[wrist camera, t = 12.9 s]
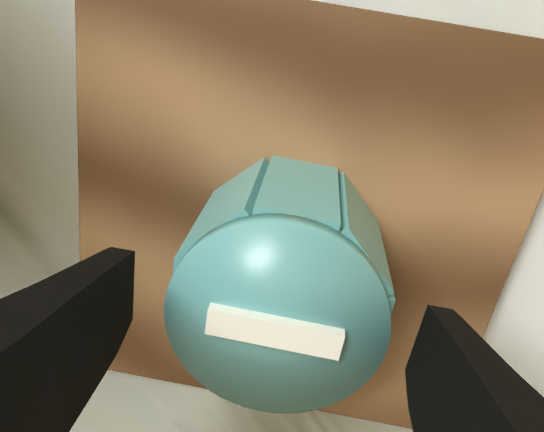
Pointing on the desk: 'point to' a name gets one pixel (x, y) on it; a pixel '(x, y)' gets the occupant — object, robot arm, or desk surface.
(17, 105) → the desk surface
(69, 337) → the robot arm
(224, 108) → the post fixture
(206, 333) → the cap
